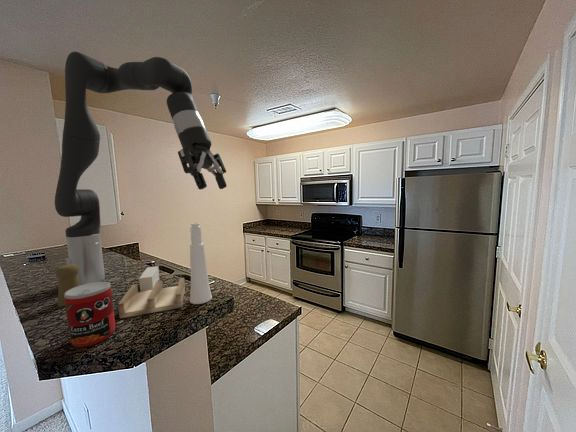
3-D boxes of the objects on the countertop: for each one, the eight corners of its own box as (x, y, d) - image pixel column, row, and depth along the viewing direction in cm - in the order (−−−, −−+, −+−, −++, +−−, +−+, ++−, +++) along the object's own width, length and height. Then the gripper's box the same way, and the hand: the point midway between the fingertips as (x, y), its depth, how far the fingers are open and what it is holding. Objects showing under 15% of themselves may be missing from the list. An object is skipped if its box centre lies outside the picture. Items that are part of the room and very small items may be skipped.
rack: (119, 318, 61) (118, 304, 60) (133, 296, 74) (132, 284, 74) (182, 307, 66) (180, 294, 65) (185, 288, 79) (184, 277, 78)
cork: (83, 295, 76) (79, 261, 75) (86, 301, 72) (81, 264, 71) (57, 302, 72) (52, 265, 71) (58, 308, 68) (52, 269, 67)
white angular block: (140, 293, 76) (139, 278, 76) (148, 281, 88) (147, 267, 87) (153, 292, 77) (151, 276, 77) (159, 279, 89) (158, 266, 88)
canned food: (64, 352, 48) (56, 299, 47) (79, 331, 55) (73, 285, 54) (110, 341, 51) (104, 291, 50) (119, 323, 58) (114, 279, 57)
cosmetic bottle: (201, 293, 74) (196, 221, 72) (216, 297, 71) (211, 222, 69) (185, 302, 69) (178, 224, 67) (200, 306, 66) (193, 225, 64)
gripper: (200, 143, 74) (219, 193, 73) (160, 134, 61) (184, 194, 60) (218, 131, 71) (239, 183, 71) (181, 118, 58) (206, 182, 57)
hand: (213, 188), depth 65 cm, fingers open, 8 cm apart
